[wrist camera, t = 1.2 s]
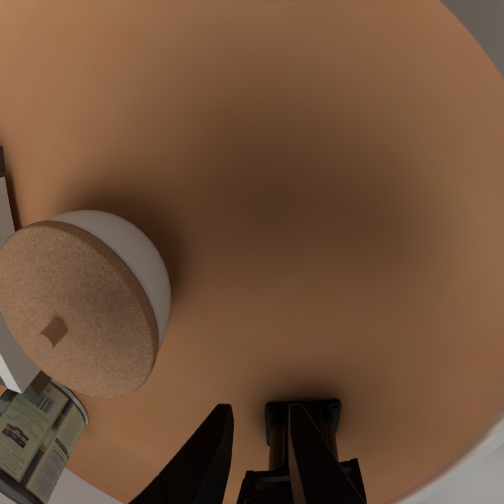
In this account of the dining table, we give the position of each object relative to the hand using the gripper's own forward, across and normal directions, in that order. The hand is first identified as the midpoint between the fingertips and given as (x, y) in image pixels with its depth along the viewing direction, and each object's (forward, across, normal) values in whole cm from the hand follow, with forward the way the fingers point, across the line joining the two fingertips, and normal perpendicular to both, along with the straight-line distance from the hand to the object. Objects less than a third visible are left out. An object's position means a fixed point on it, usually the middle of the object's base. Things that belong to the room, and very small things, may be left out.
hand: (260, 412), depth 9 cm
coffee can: (+12, +26, +17) cm, 33 cm away
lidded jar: (+12, +10, 0) cm, 16 cm away
